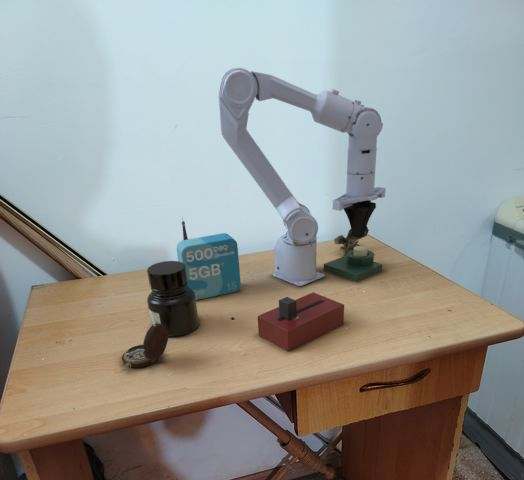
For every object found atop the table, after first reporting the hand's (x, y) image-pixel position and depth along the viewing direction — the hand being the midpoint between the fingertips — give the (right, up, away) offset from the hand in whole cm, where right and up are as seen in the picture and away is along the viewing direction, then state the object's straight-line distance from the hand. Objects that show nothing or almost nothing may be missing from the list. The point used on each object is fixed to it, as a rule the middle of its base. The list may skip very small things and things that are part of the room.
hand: (357, 236), depth 104 cm
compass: (-42, -27, -24) cm, 55 cm away
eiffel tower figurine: (-39, -6, +10) cm, 41 cm away
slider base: (-14, -21, -17) cm, 31 cm away
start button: (+2, -3, +5) cm, 6 cm away
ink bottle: (-38, -21, -14) cm, 45 cm away
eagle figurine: (+2, 0, +17) cm, 17 cm away
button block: (0, -7, +5) cm, 9 cm away
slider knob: (-17, -19, -21) cm, 33 cm away
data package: (-32, -13, -1) cm, 34 cm away
